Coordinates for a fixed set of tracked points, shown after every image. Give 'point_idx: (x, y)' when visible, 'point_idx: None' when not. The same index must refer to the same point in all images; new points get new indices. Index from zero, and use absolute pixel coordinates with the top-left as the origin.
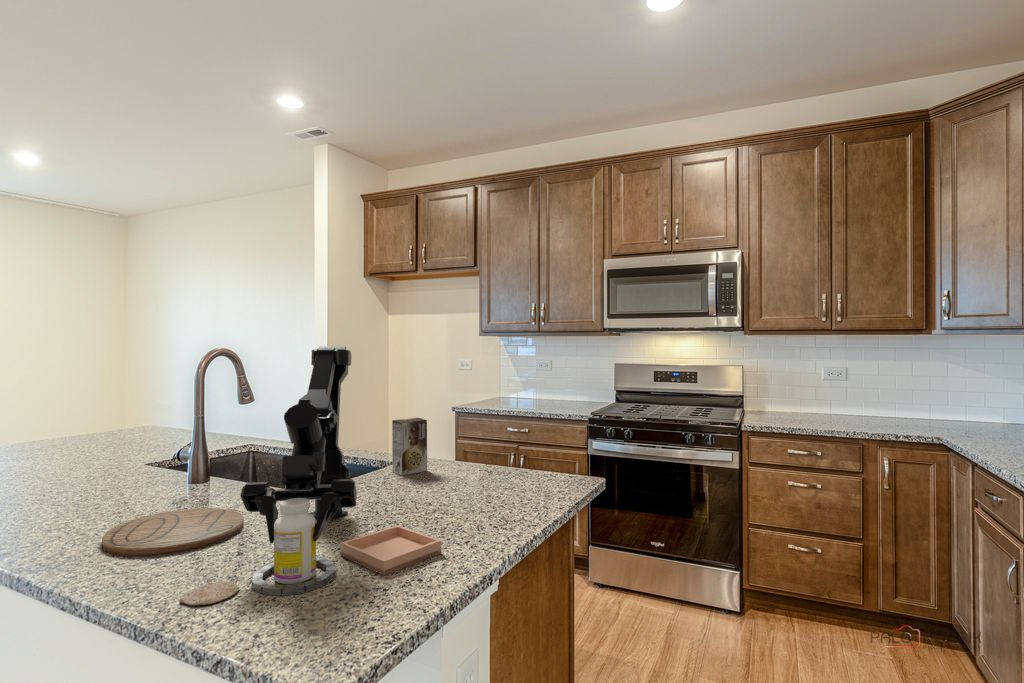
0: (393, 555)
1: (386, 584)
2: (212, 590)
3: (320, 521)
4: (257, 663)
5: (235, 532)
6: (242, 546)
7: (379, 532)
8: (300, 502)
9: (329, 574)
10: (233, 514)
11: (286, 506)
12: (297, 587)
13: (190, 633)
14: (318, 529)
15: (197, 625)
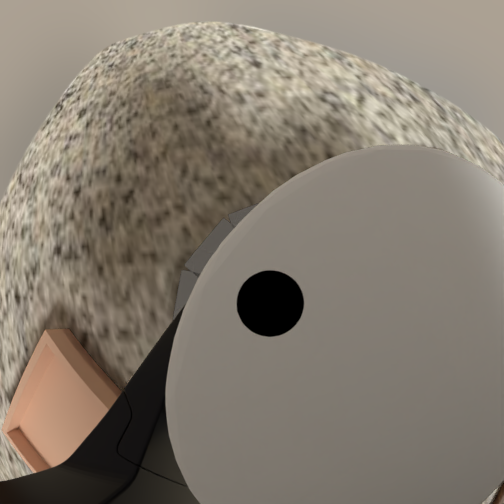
0: (70, 422)
1: (58, 277)
2: None
3: (148, 372)
4: (221, 27)
5: (496, 499)
6: None
7: None
8: (325, 372)
9: (180, 303)
10: None
11: (458, 162)
12: (246, 208)
13: (374, 73)
14: (167, 333)
15: (384, 91)
